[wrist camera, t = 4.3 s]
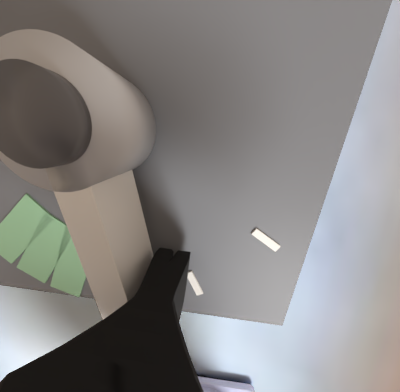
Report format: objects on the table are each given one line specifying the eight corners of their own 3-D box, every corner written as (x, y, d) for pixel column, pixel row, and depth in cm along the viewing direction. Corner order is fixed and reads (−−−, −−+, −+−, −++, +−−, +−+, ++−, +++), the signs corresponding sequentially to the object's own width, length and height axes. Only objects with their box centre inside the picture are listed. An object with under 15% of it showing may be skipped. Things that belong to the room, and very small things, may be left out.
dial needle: (50, 83, 8) (-94, 34, 4) (143, 64, 7) (76, -8, 4) (129, 322, 11) (91, 408, 8) (194, 318, 11) (185, 408, 7)
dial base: (276, 310, 12) (282, 327, 11) (-52, 263, 13) (-76, 275, 12) (398, -75, 7) (433, -115, 6) (-188, -132, 7) (-256, -178, 6)
